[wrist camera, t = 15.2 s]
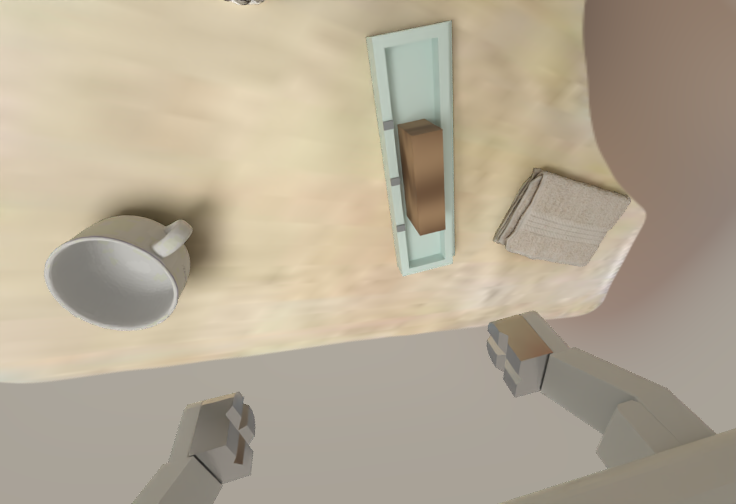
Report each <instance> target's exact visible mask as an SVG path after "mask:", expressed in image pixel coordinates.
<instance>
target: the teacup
mask: <svg viewBox="0 0 736 504" xmlns="http://www.w3.org/2000/svg"><path fill="white" fill-rule="evenodd" d="M192 231H193V229H192V227H191V225H190V224H188V223H187V222H186V221H184V220H177V221H175V222H173V223H172V224H170V225H167V226H164V225H162V224H160V223H158V222H156V221H154V220H151V219H148V218H145V217H140V216H132V215H123V216H115V217H110V218H107V219H104V220H101V221H99V222H97V223H95V224H93V225H92V226H90V227H88V228H87V229H85V230H84V231H82V232H81V233H79V234H78V235H76V236H75V237H74V238H72V239H71V240H70V241H68V242H66V243H64V244H62V245H61V246H59V247H58V248H56V249H55V250H54V251H53V252H52V253H51V255H50V256H49V258H48V259H47V261H46V264H45V270H44V277H45V281H46V284H47V287H48V289H49V291H50V292H51V294H52V295H53V297H54V298H55V299H56V300H57V301H58V302H59V303H60V305H61V306H62V307H63V308H65V309H66V310H68V311H69V312H70V313H71V314H72V315H74V316H75V317H77V318H80V319H82V320H84V321H86V322H88V323H90V324H92V325H96V326H99V327H102V328H107V329H113V330H121V331H123V330H124V331H130V330H140V329H146V328H149V327H152V326H155V325H157V324H159V323H161V322H163V321H164V320H165V319H166V318H168V317H169V316H170V314H171V313H172V312H173V311H174V309H175V307H176V305H177V302H178V299H179V297H180V295H181V293H182V291H183V289H184V287H185V284H186V282H187V279H188V277H189V273H190V257H189V253H188V251H187V248H186V246H185V245H184V243H185V242H186V241H187V239H188V238H189V237H190V235H191V234H192Z"/></svg>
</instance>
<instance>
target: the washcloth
mask: <svg viewBox="0 0 736 504" xmlns="http://www.w3.org/2000/svg"><path fill="white" fill-rule="evenodd" d="M630 202H631V199H630V198H629V197H628V196H627V195H622V194H618V193H616V192H615V191H614V192H611V191H610V190H604V189H601V188H598V187H595V186H593V185H589V184H587V183H582V182H577V181H574V180H572V179H568V178H566V177H562V176H559V175H557V174H555V173H551V172H548V171H544V170H541V169H539V168H534V169H533V174H532V177H529V178H528V180H527V181H526V182H525V183H524V184H523V185H522V187H521V188H520V190H519V192H518V194H517V195H516V197H515V199H514V201H513V203H512V205H511V207H510V209H509V211H508V212H507V214H506V216H505V217H504V219H503V221H502V223H501V224H500V226H499V228H498V230H497V232H496V233H495V236H494V238H493V241H494V242H496V243H498V244H499V243H500V244H502V245H506V246H505V248H506V250H507V251H509V252H513V253H517V254H520V255H523V256H526V257H528V258H530V259H539V260H545V261H550V262H555V263H564V264H569V265H574V266H585V265H587V263H589V261H590V259H591V257H592V256H593V255H594V253H595V251H597V249H598V247H599V244H600V243H601V241H602V240H603V238H604V236H605V235H606V233H607V231H608V230H610V229H612V227H613V226H614V225H615V223H616V222H617V221H618V220H619V218H620V217H621V216H622V214H623V213H624V212H625V210H626V209H627V206H628V205H629V204H630Z"/></svg>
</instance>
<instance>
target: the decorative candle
mask: <svg viewBox="0 0 736 504" xmlns="http://www.w3.org/2000/svg"><path fill="white" fill-rule="evenodd" d="M225 1H231V2H233V3H236V4H238V5H250V4H260V3H262V2H263V1H265V0H225Z"/></svg>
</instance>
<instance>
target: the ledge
mask: <svg viewBox="0 0 736 504" xmlns="http://www.w3.org/2000/svg"><path fill="white" fill-rule="evenodd" d="M366 41H367V49H368V56H369V63H370V70H371V78H372V85H373V92H374V99H375V106H376V114H377V121H378V128H379V135H380V143H381V150H382V157H383V164H384V171H385V179H386V186H387V193H388V200H389V208H390V215H391V222H392V229H393V236H394V244H395V251H396V258H397V265H398V267H399V270H400V272H401V274H402V276H406V275H410V274H414V273H418V272H422V271H426V270H430V269H433V268H437V267H441V266H445V265H449V264H453V258H452V256H454V255H455V240H454V163H453V86H452V21H445V22H440V23H435V24H430V25H425V26H420V27H415V28H410V29H405V30H400V31H395V32H390V33H385V34H380V35H375V36H370V37H366ZM421 119H426V120H428V121H429V122H431V123H433V124H434V125H436V126H438V127H440V128H441V129H443V158H444V192H445V225H446V230H442V231H438V232H434V233H430V234H426V235H422V236H420V235H419V234H418V232H417V231H416V229H415V228H414V226H413V225H412V223H411V222H410V220H409V219H408V217H407V213H406V203H405V194H404V184H403V175H402V165H401V156H400V146H399V137H398V128H397V125H398V124H403V123H407V122H412V121H416V120H421Z"/></svg>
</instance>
